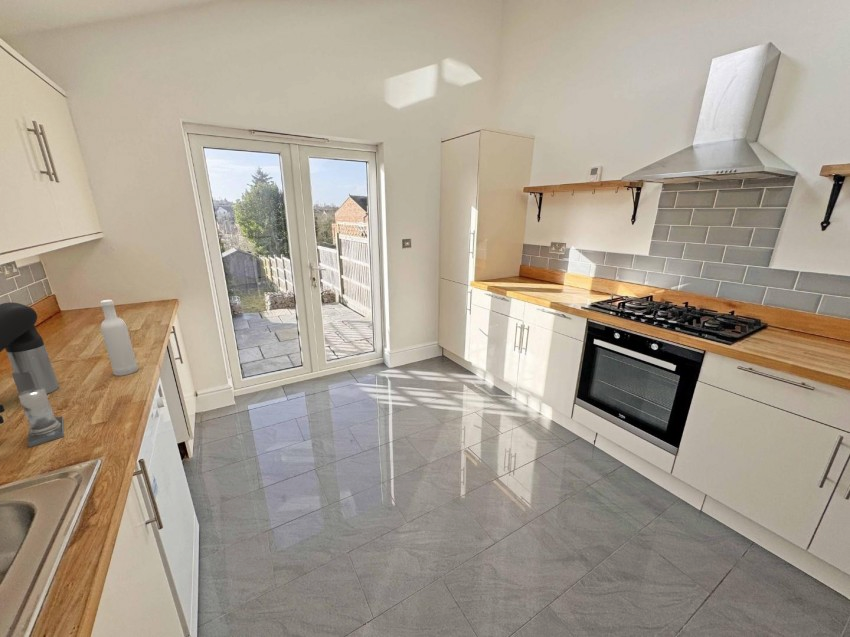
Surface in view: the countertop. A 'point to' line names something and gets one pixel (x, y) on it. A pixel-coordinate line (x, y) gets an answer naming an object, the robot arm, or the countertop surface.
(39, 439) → the base plate
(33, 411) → the flanged metal cylinder
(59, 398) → the countertop surface
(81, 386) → the countertop surface
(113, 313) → the bottle
